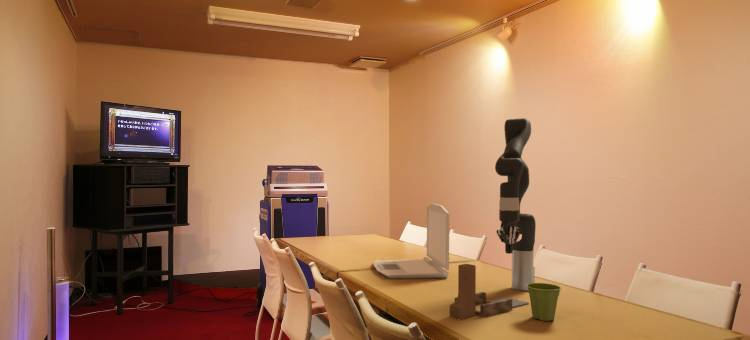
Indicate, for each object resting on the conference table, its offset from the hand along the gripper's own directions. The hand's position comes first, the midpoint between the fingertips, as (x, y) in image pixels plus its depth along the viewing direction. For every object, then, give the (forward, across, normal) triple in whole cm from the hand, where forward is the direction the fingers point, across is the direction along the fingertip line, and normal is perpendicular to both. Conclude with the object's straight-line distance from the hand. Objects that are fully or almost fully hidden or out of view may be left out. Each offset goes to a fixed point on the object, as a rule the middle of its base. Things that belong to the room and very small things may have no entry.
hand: (509, 253), depth 194 cm
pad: (+20, 0, 0) cm, 20 cm away
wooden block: (+20, +28, +2) cm, 35 cm away
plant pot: (+20, +7, +20) cm, 29 cm away
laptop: (+20, -8, -71) cm, 74 cm away
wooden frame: (+20, +15, 0) cm, 25 cm away
